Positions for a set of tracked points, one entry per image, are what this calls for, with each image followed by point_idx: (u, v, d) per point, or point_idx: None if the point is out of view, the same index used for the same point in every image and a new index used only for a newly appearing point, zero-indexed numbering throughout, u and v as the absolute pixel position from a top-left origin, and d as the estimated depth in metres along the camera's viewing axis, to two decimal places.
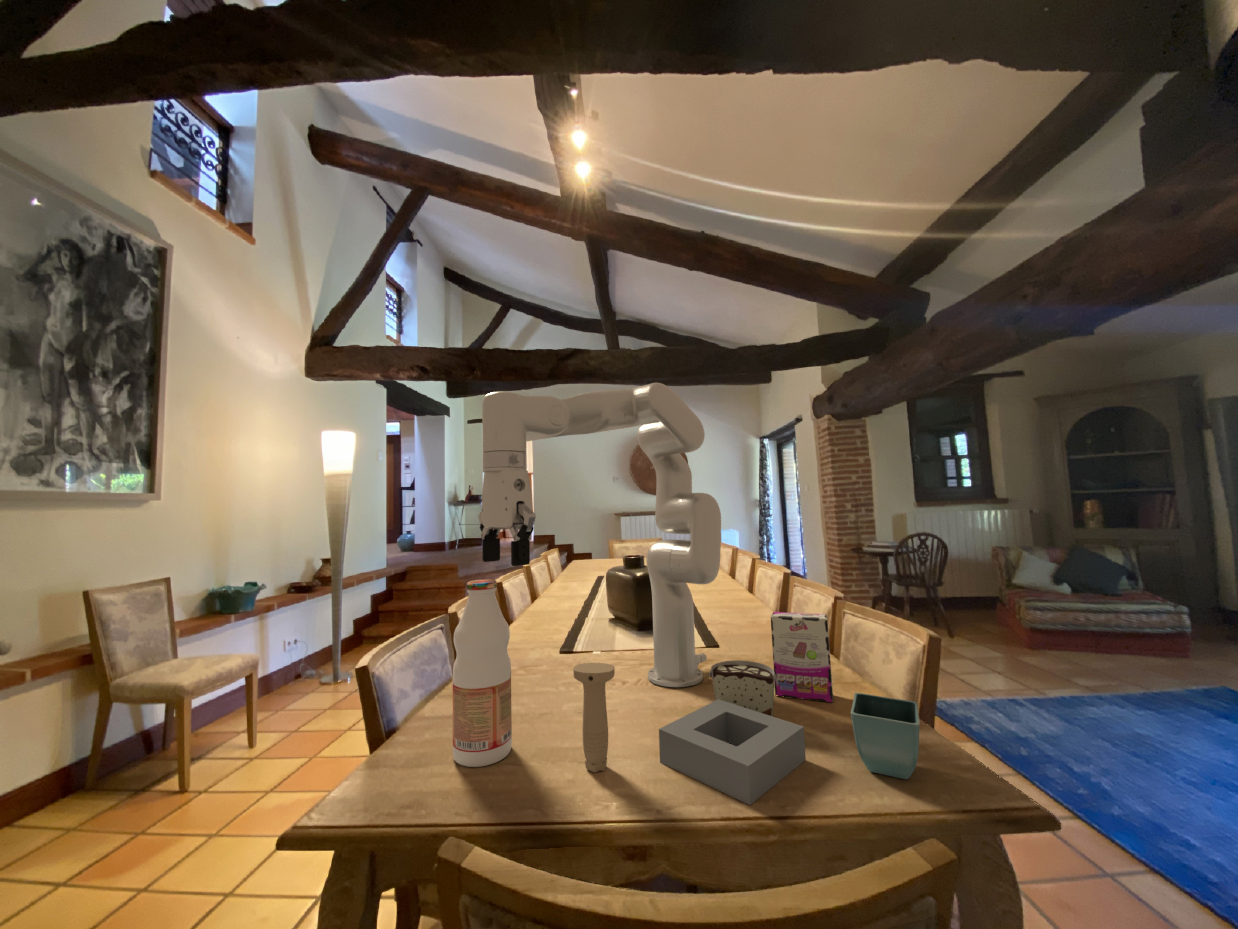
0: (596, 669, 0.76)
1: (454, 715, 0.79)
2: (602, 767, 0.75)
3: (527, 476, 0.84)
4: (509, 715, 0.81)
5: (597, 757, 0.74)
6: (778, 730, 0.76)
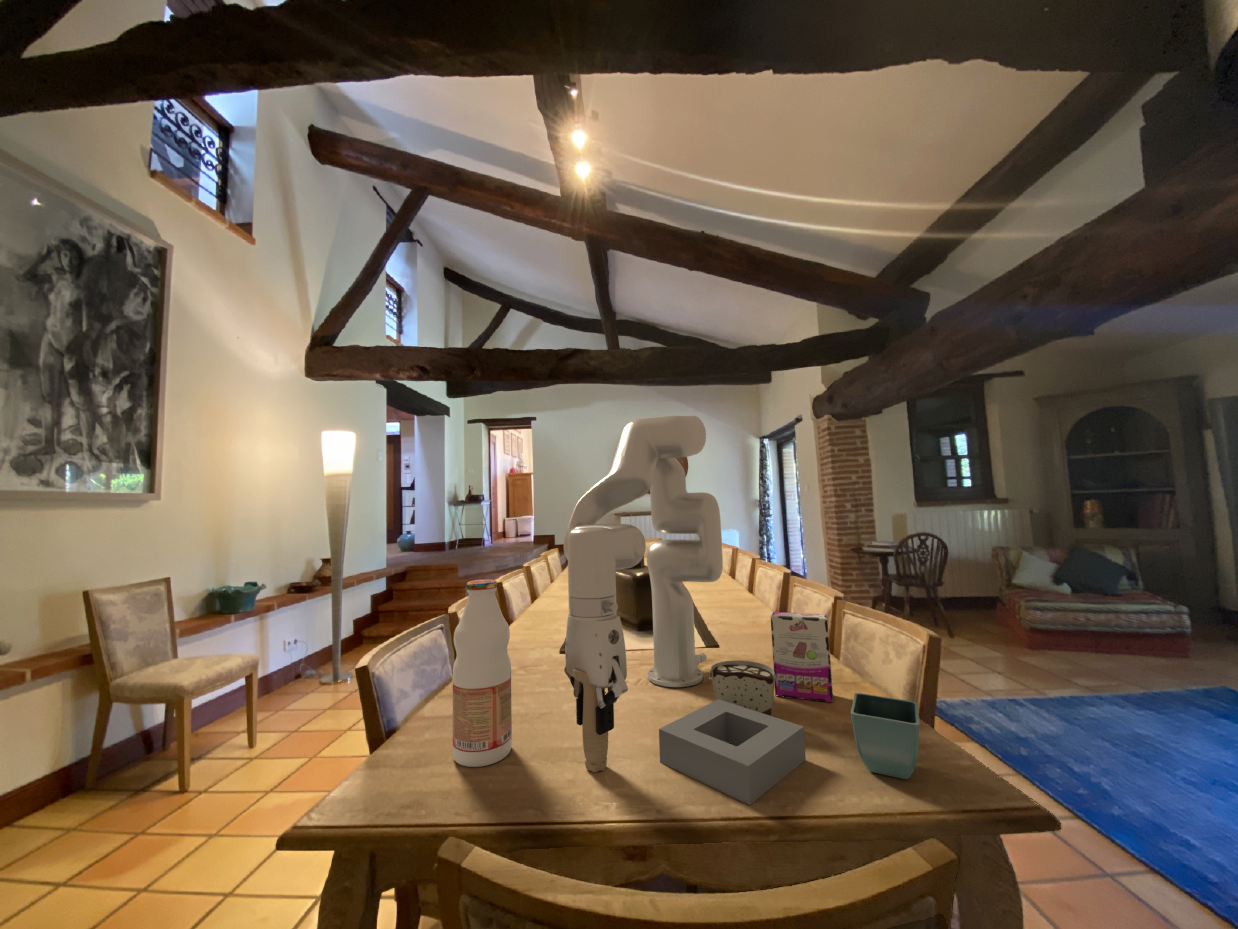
0: None
1: (454, 715, 0.79)
2: (602, 767, 0.75)
3: (620, 624, 0.76)
4: (509, 715, 0.81)
5: (597, 757, 0.74)
6: (778, 730, 0.76)
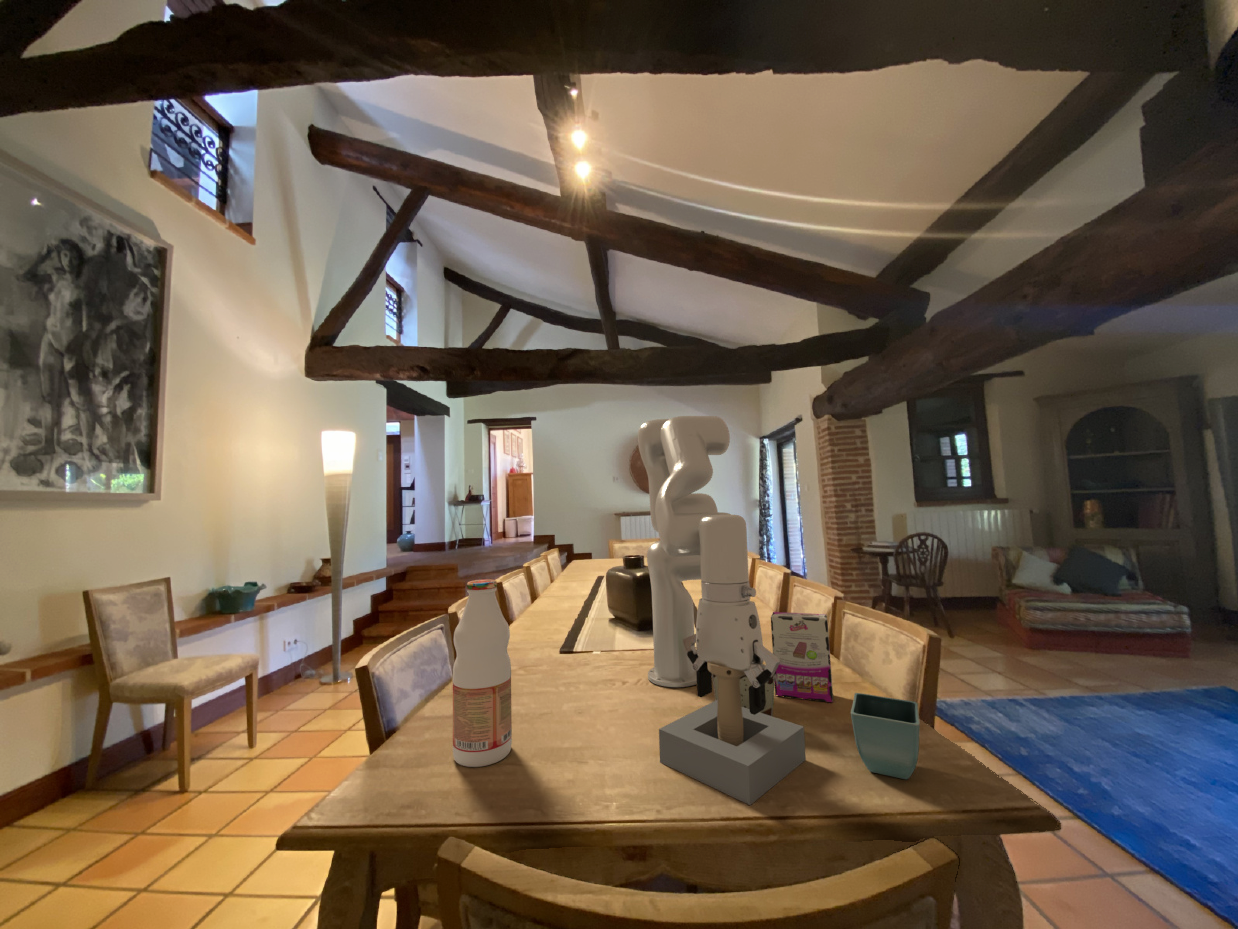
0: None
1: (454, 715, 0.79)
2: None
3: (756, 609, 0.77)
4: (509, 715, 0.81)
5: None
6: (778, 730, 0.76)
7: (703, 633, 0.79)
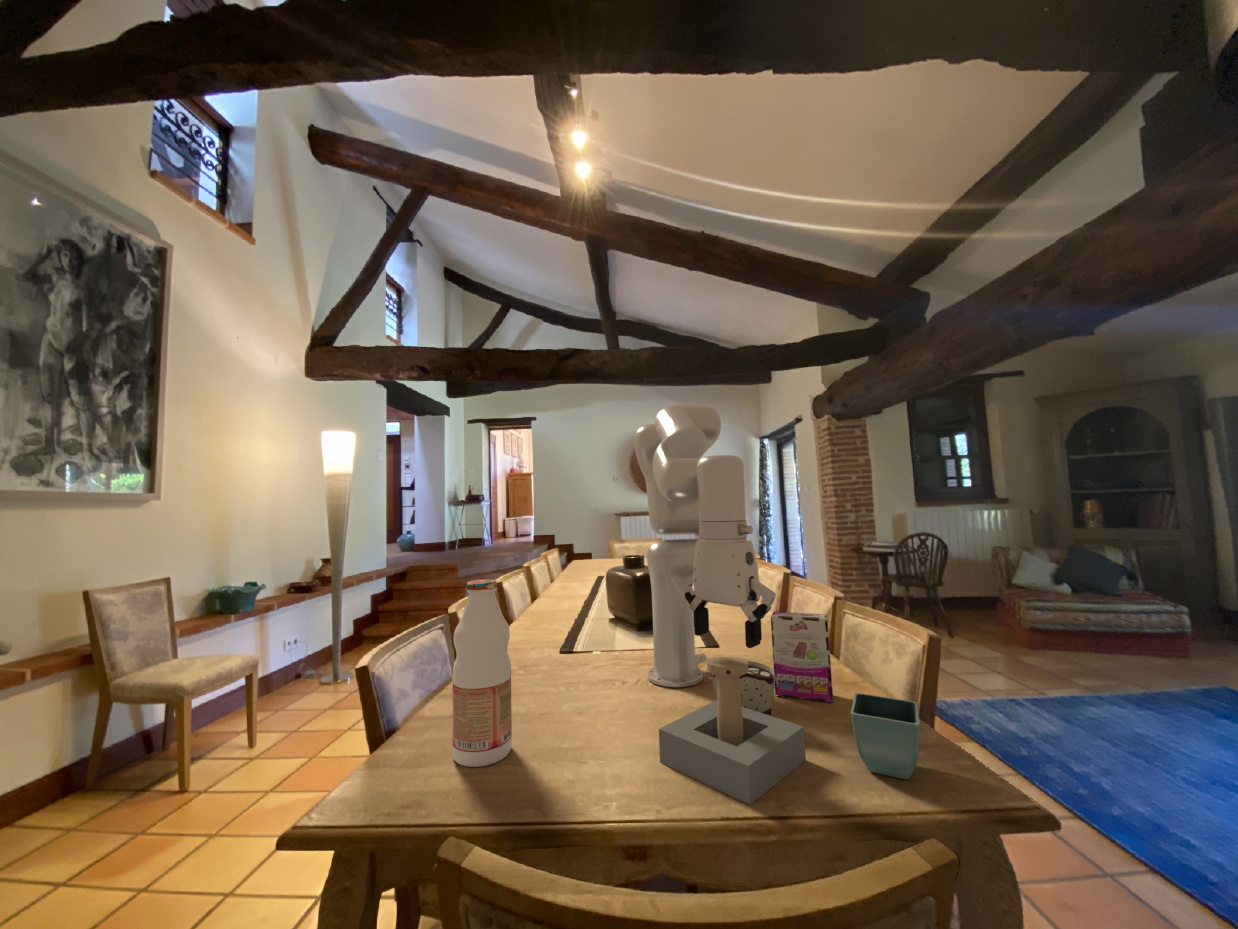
0: (730, 663, 0.77)
1: (454, 715, 0.79)
2: None
3: None
4: (509, 715, 0.81)
5: None
6: (778, 730, 0.76)
7: (700, 572, 0.80)
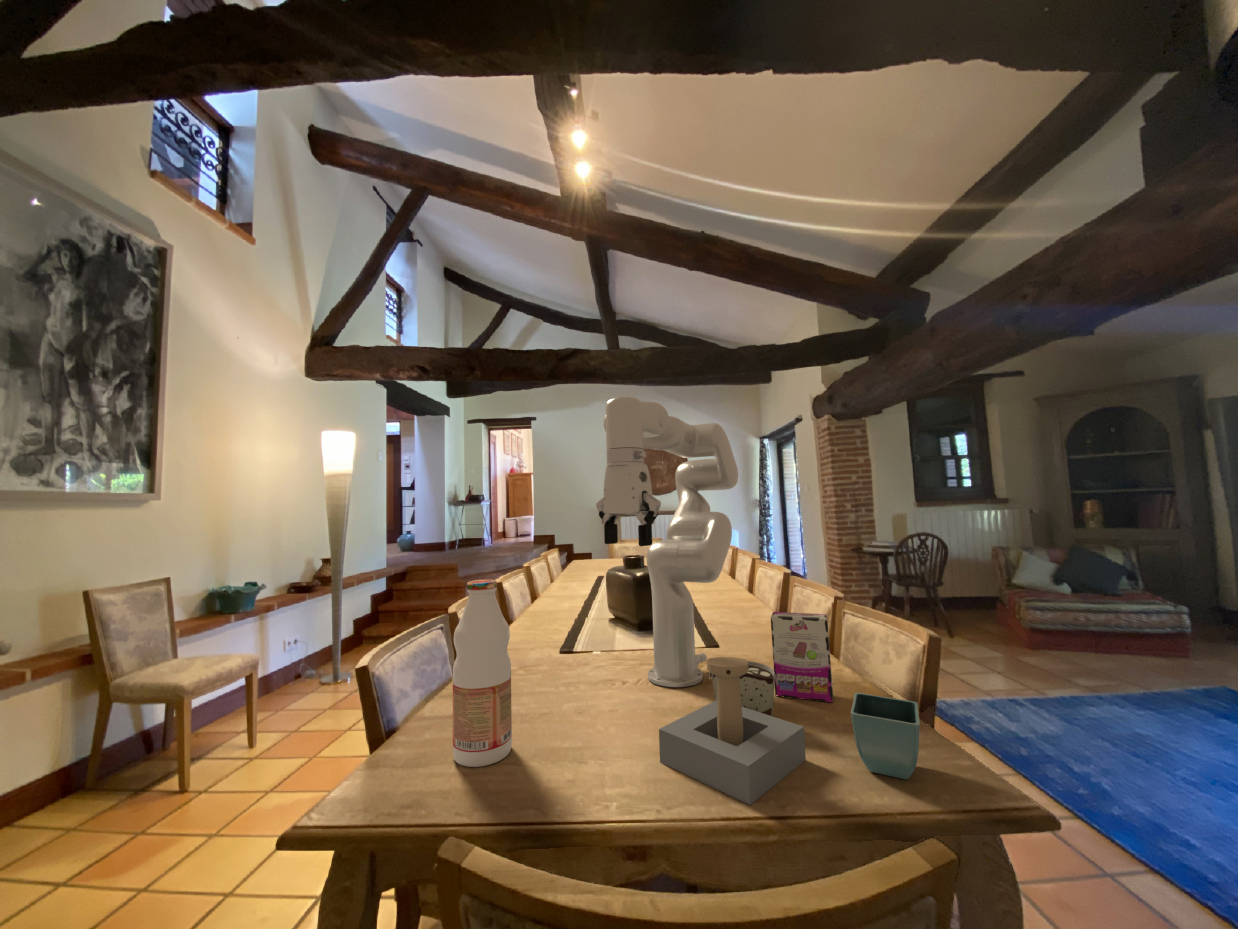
0: (730, 663, 0.77)
1: (454, 715, 0.79)
2: None
3: (647, 469, 0.97)
4: (509, 715, 0.81)
5: None
6: (778, 730, 0.76)
7: (608, 491, 0.99)
